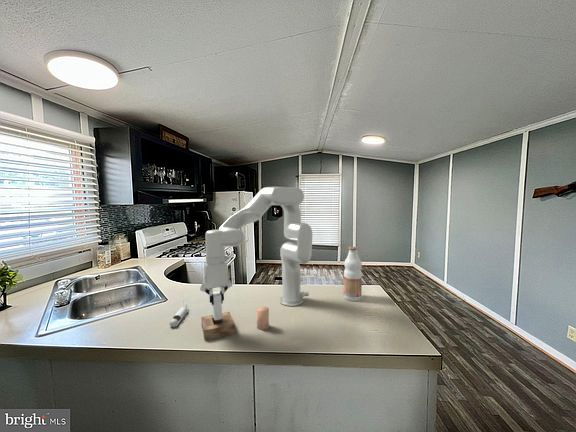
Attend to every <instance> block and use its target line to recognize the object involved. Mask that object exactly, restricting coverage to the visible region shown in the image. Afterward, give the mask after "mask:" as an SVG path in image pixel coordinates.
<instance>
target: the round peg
mask: <svg viewBox="0 0 576 432" xmlns="http://www.w3.org/2000/svg"><path fill="white" fill-rule="evenodd" d="M269 311H270V309H269V307H268V306H259V307H257V308H256V324H257V326H256V328H257V330H260V331H266V330H268V329H269V327H270V313H269Z"/></svg>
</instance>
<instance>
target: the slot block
mask: <svg viewBox="0 0 576 432" xmlns="http://www.w3.org/2000/svg"><path fill="white" fill-rule="evenodd" d="M201 329H202V335H203V339H204V341H206V340H212V339H217V338H220V337H224V336H225V337H226V336H230V335H234V334H236V323H235V320H234V319H233V316H232V314H231V313H230V311H227V312H222V319H220V320H215V321H214V317H213V314H210V315H205V316H204V315H203V316H201Z"/></svg>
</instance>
